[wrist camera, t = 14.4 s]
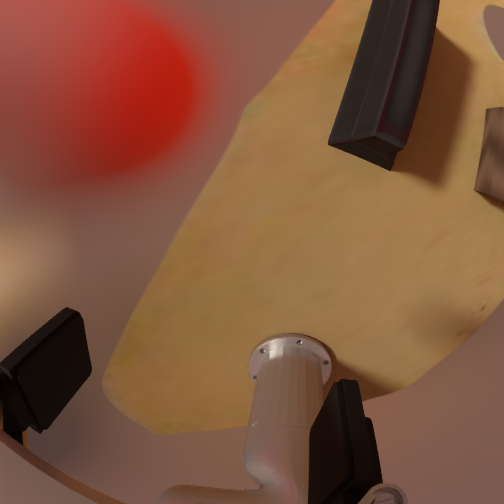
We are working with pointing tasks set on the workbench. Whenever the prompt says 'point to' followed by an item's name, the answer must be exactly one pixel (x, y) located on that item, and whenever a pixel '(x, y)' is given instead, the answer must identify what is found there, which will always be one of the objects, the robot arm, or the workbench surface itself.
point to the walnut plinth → (492, 156)
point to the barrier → (386, 80)
